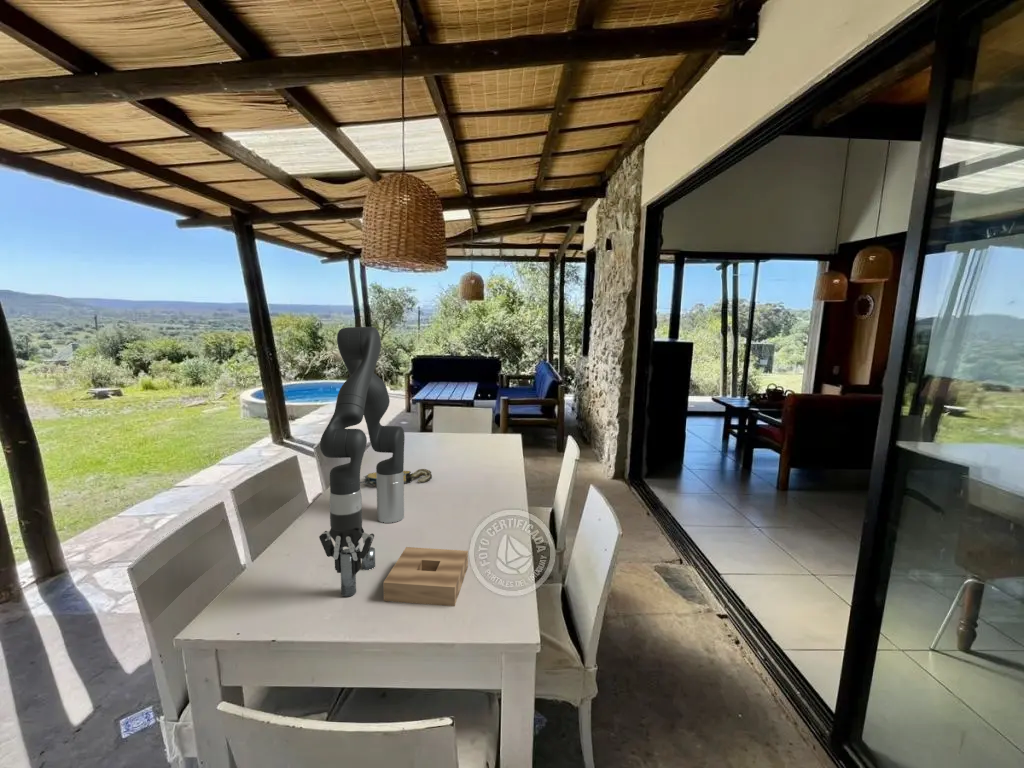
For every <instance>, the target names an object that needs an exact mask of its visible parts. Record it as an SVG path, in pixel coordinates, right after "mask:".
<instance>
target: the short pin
mask: <svg viewBox="0 0 1024 768" xmlns="http://www.w3.org/2000/svg"><path fill="white" fill-rule="evenodd" d="M374 567H375V568H376V549H375V547H373V546H371V547H370V549H369V552H368V554H367V555H366V556H365V557H364V559H361V568H362V570H363V569H364V571H370V570H369V569H371V570H373V569H375V568H374ZM372 568H373V569H372Z"/></svg>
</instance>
